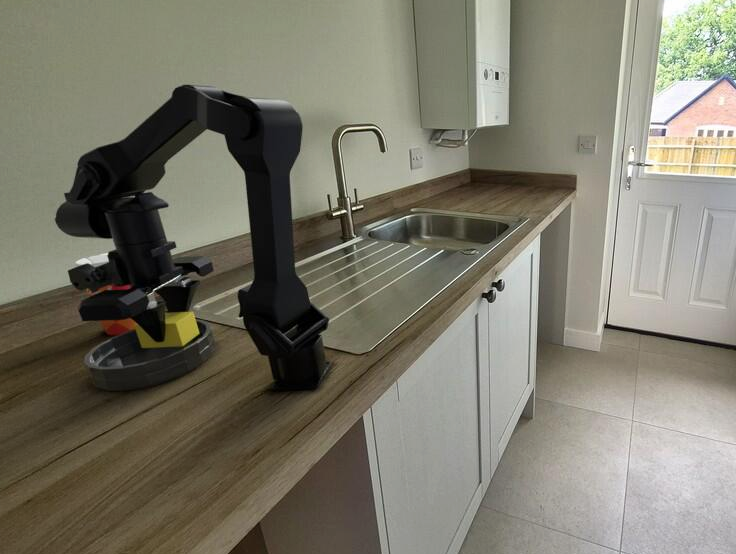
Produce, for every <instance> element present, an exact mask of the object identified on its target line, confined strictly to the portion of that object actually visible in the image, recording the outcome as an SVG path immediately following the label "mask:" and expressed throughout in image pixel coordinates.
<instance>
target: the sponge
mask: <svg viewBox="0 0 736 554" xmlns="http://www.w3.org/2000/svg"><path fill="white" fill-rule="evenodd" d="M195 316H196V315H195V313H194V311H189V312H172V313H168V312H165V340H164V341H163V342H155V341H154V340H153V339H152V338H151V337H150V336H149V335H148V334H147V333H146V332H145V331H144V330H143V329H142V328H141V327H140V326H139V325H138V324H135V325H134V326H135V329H136V332H137V335H138V338H139V341H140V344H141V347H142V348H155V347H178V346H184V345H185V344H186V343H188V342H189V341H190V340H192V339H193V338H194V337H196V336H197V335H198V334H199V330H198V327H197V323H196V320H195V319H196V317H195Z"/></svg>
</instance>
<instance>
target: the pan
mask: <svg viewBox="0 0 736 554" xmlns="http://www.w3.org/2000/svg"><path fill="white" fill-rule="evenodd" d="M195 320H196V323H197V327H198V330H199V334H198V335H197V336H196V337H194V338H193V339H192V340H190V341H189V342H188V343H186V344H185V345H184V346H178V347H155V348H142V347H141V344H140V341H139V338H138V335H137V332H136V329H133V330H130V331H127V332H124V333H122V334H119V335H114V336H112V337H110V338H107V339H106V340H105V341H103V342H101V343H99V344H97V345H95V346H94V347H93V348H92V349H90V350H89V351H88V353H86V354H85V357H84V360H83V364H84V367H85V370H86V372H87V375H88V377H89V379H90V382H91V383H92V384H93V386H95V388H97V389H101V390H104V391H108V392H129V391H136V390H140V389H146V388H150V387H154V386H158V385H161V384H164V383H166V382H170V381H172V380H175V379H177V378H179V377H182V376H184V375H186V374H188V373H190V372H192V371H194V370H195V369H197V368H198V367H200V366H201V365H202V364H204V363H205V362H206V361H208V359H209V358H210V357H211V356H212V355H213V353H214V351H215V350H216V347H217V346H216V342H215V338H214V335H213V330H212V327H211V324H210V323H209V322H207V321H205V320H203V319H196V318H195Z"/></svg>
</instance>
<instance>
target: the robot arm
mask: <svg viewBox="0 0 736 554" xmlns="http://www.w3.org/2000/svg"><path fill="white" fill-rule="evenodd" d="M303 127H304V125H303V120H302V116H301V114H300V113H299V112H298V111H297V109H296V108H294V107H293V105H292V104H291V103H289V102H288V101H286V100H283V99H281V98H267V97H266V98H265V97H249V96H246V95H241V94H236V93H232V92H229V91H226V90H223V89H220V88H219V87H216V86H211V85H198V84H182V85H179V86H176V87H175V88H174V89H173V91H172V93H171V96H170V98H169V99H167V100H166V101H165V102H164V103H163V104H162V105H161V106H159V107H158V108H157V109H156V110H155V111H154V112H153V113H152V114H151V115H149V116H148V117H147V118H146V119H144V121H142V122H141V123H140V124H139V125H137V127H135V128H134V129H133V130H132V131H131V132H130V133H129V134H128V135H126V137H124V138H123V139H120V140H119V141H115V142H112V143H109V144H104V145H101V146H98V147H96V148H94V149H91V150H90V151H87V152H85V153H84V154H82V155H81V156H80V157H79V158H78V161H77V163H76V165H77V166H76V170H75V174H74V179H73V183H72V186H71V188H70V190H69V191H68V192H64V194H63V196H64V198H65V201H64V202H63V203H62V204H59V207H58V208H57V210H56V213H55V218H54V221H55V224H56V226H57V227H58V229H59V230H60V231H61V232H63V233H64V234H66V235H67V236H71V237H74V238H84V239H85V238H86V239H103V240H112V241H113V245H114V247H115V249H113V250H110V251H108V252H107V253H109V254H108V255H107V257H108V260H109V262H108V263H105V264H103V265H100V266H98V267H94V266H92V265H90V264H88V263H86V264H83V265H81V266H78V267H76V266H74V267H73V268H71V269H68V270H67V273H68V278H69V282H70V284H71V285H72V287H74V288H75V289H76V290H77V291H84V290H86V289H87V288H88V289H89V290H90V291H91V292H92V293H94V292H96V291H98V290H99V289H100V288H103V287H105V286H108V285H111V284H114V287H123V286H125V285H129V286H130V287H131V288H130V289H123V290H104V291H102V292H99V293H97V294H95V295H93V296H91V297H89V296H88V297H86V298H84V299H82V300H81V301H80V303H79V304H78V306H77V307H76V308H77V310H78V313H79V316H80V318H81V320H82V322H101V321H104V320H125V319H128V318H131V319H132V320H133V321H135V322H136V323H137V324H138V325H139V326H140V327H141V328H142V329H143V330H144V331H145V332H146V333H147V334H148V335H149V336H150V337H151V338H152V339H153V340H154V341H155V342H163V341H164V340H165V313H172V312H190V309H191V305H192V302H193V300H194V297H195V294H196V292H197V289H198V287H199V285H200V284H201V280H199V279H196V280H195V279H194V280H192V279H191V278H192V277H191V276H189V274H190V273H196V275H198V276H199V277H206V276H208V275H209V274H211V273H213V272H214V271H215V270H214V266H213V262H212V260H210V259H209V258H208V257H206V256H205V255H199V256H198V255H197V256H177V257H175V258H173V256H172V253H171V251H173V250H174V249H176V248H177V243H176V241H175V240H170V241H168V239H167V236H166V232H165V228H164V225H163V222H162V218H161V216H160V211H159V210H161V209H167V208H169V207H170V204H169V203H168V202H167V201H166V200H165V199H163V198H160V197H158V196H157V195H156V194H154V193H153V192H152V191H150V190H153V189H155V188H156V187H157V186H158V184H159V183H160V181H161V180H162V179H163V178H164V176H165V175H166V173H167V172H166V164H167V163H168V161H170V160H171V159H172V158H173V157H174V156H176V155H177V154H178V153H179V152H180V151H182V150H183V149H185V148H186V147H187V146H188V145H189V144H191V143H192V142H193V141H194V140H195V139H197V138H198V137H200V136H201V135H202V134H203V133H204V132H205V131H207V130H208V131H211V132H213V133H217V134H220V135H223V137H224V139H225V143H226V147H227V150H228V152H229V154H230V155H231V156H232V158H233V160H235V161H236V163H237V164H238V166H239V167H240V168H241V170H242V171H243V173H244V180H245V191H246V201H247V210H248V212H247V213H248V220H249V221H248V223H249V232H250V233H249V234H250V243H251V244H250V245H251V252H252V263H253V273H254V276H253V280H252V282H251V283H250V284H248V285H246V286H244V287H242V288H240V289H238V290H237V300H238V304H239V313H238V318H239V319H241V318H242V322H243V325H244V326H243V327H244V329H245V330H246V332H247V333H248V335H249V338H250V339H251V340H252V342H253V344H254V345H255V347H256V349H257V351H258V352H259V354H260V355H261V356H264V357H266V356H267V359H268V363H269V367H270V373H271V375H272V380H273V381H274V383H273V384H272V385H271V387H270V388H271V389H270V390H271V391H272V392H281V391H303V390H316V389H318V388H319V387H320V385H321V383H322V382H323V380H324V378H325V376H326V375H327V373H328V372H329V370H330V368H331V367H332V361H330V360H328V361H327V357H326V354H325V353H326V352H325V347H324V341H323V336H322V334H323V332H324V331H326V330H328V328H329V323H330V318H329V316H328V315H326V313H324V312H323V311H322V310H321V309H320V308H319V307H317V305H315V304H314V303H313V301H311V299H310V296H309V292H308V287H307V285H306V284H305V283H304V282H303V280H302V279H301V278H300V276H298V275H297V271H296V259H295V258H296V257H295V243H294V240H295V239H294V225H293V224H294V223H293V209H292V208H293V207H292V194H291V193H292V191H291V190H292V189H291V171H292V169H293V167H294V165H295V163H296V161H297V160H298V159H297V158H298V157H299V155H300V152H301V148H302V147H301V146H302V139H303V138H302V137H303V130H304V129H303ZM146 191H147V192H146ZM155 294H157V296H159V297H160V298H162V300H157V299H156V297H155ZM156 300H157V301H156ZM166 311H167V312H166Z"/></svg>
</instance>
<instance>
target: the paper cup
mask: <svg viewBox="0 0 736 554" xmlns="http://www.w3.org/2000/svg"><path fill="white" fill-rule="evenodd" d="M108 254H109V253H108V252H106V253H105V252H104V253H99V254H98V255H95V254H94V255H91V256H88V257H87V258H86V257H82V258H80V259H78V260H76V262H75V263H74V264H75V267H78V266H81V265H83V264H86V263H88V264H90V265H92V266H94V267H98V266H100V265H103V264H105V263H108V262H109V260H108V257H107V255H108ZM130 288H131V287H130V286H129V285H125V286H123V287H114V284H111V285H108V286H105V287H103V288H100V289H99V290H98V291H96V292H94V293H92V292H91V291H90V290H89V289H88V288H87V289H85V292H86V293H87V296H88V297H91V296H93V295H95V294H97V293H99V292H102V291H104V290H123V289H130ZM100 324H101V326H102V327H103V329H104V331H105V333H106V334H107V335H109V336H117V335H119V334H122V333H124V332H127V331H130V330H133V329H135V326H134V325H135V324H137V323H136V322H135V321H133V320H132V319H131V318H128V319H125V320H104V321H100Z"/></svg>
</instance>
